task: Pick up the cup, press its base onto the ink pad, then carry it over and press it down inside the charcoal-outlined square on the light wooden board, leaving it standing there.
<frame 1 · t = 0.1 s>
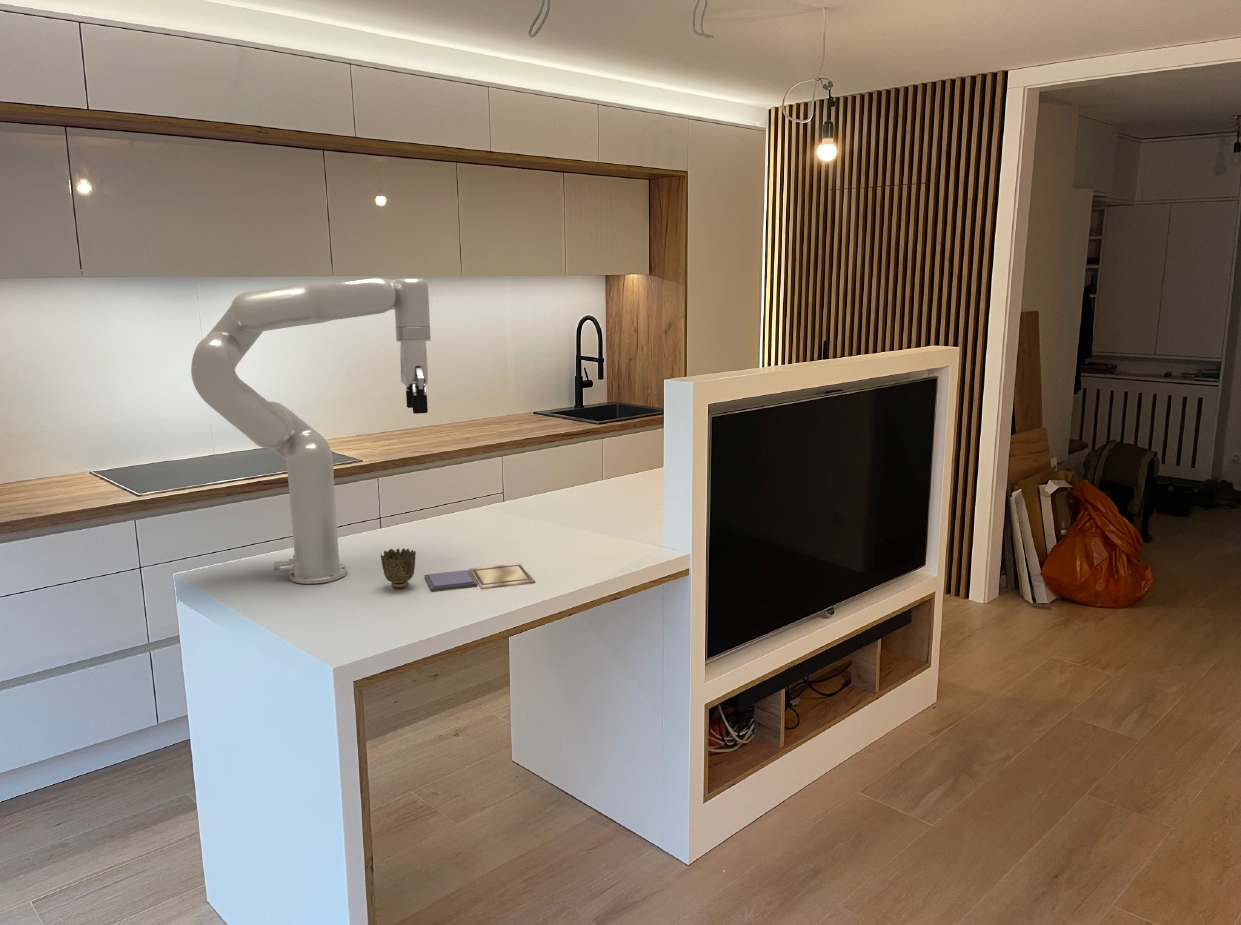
hand: (417, 410, 212), 37 cm above the table, tool pointing down, fingers open, 9 cm apart
cup: (400, 588, 203), on the table
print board: (501, 576, 210), on the table
ink pad: (450, 582, 206), on the table
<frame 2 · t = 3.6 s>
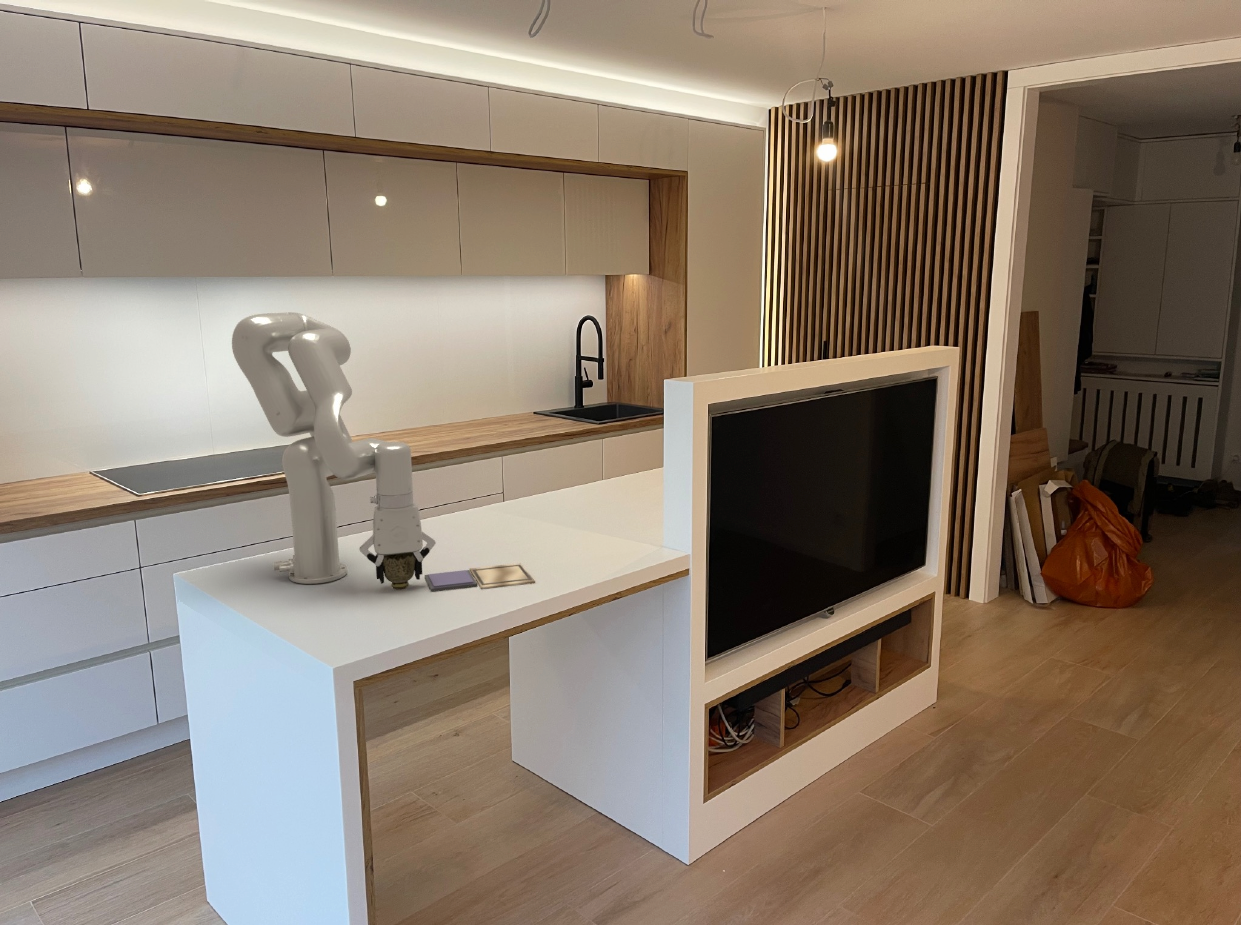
hand: (399, 579, 202), 2 cm above the table, tool pointing down, fingers closed on cup, 7 cm apart
cup: (400, 588, 203), on the table, touching gripper
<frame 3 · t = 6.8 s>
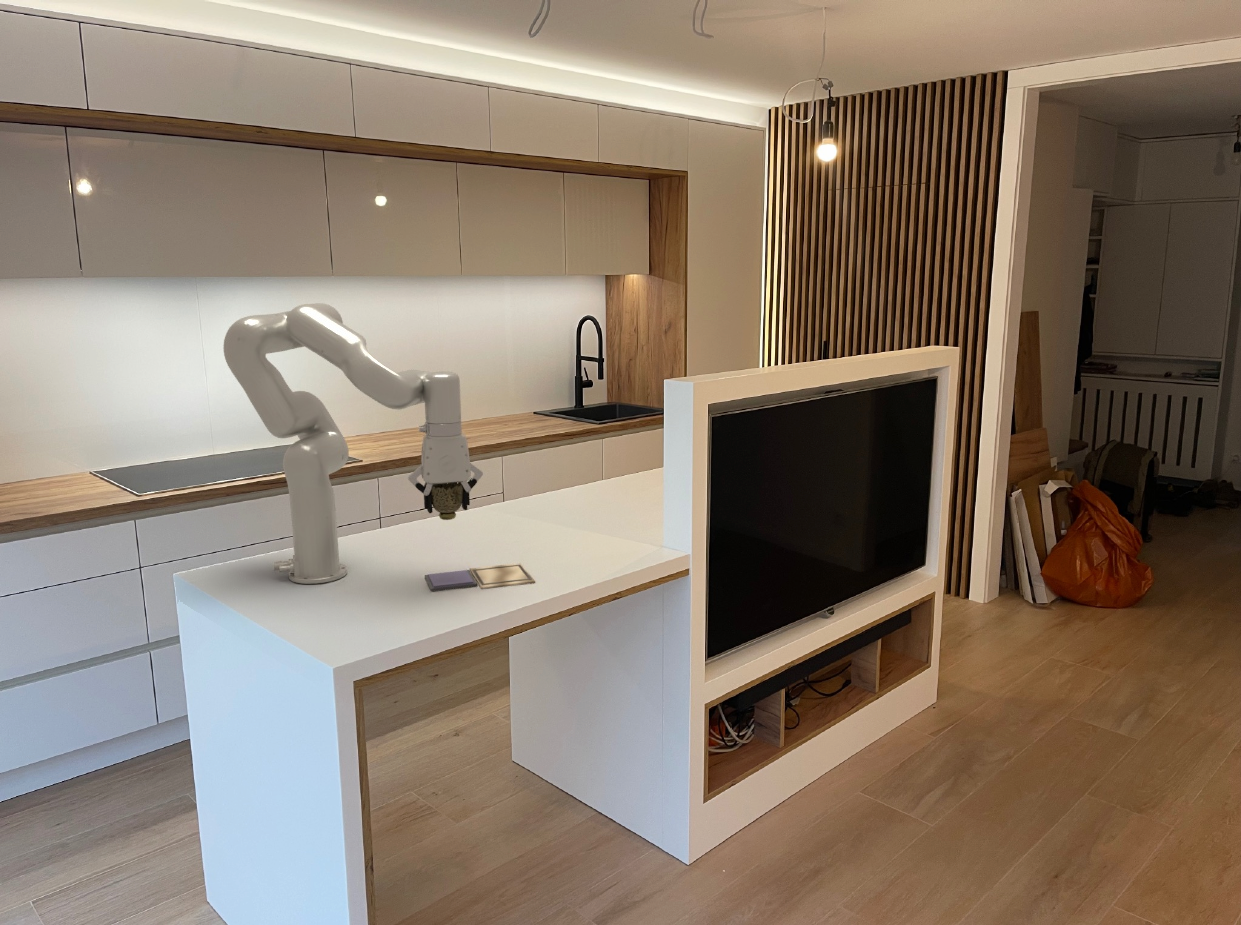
hand: (447, 509, 203), 17 cm above the table, tool pointing down, fingers closed on cup, 7 cm apart
cup: (447, 519, 203), point 14 cm above the table, touching gripper
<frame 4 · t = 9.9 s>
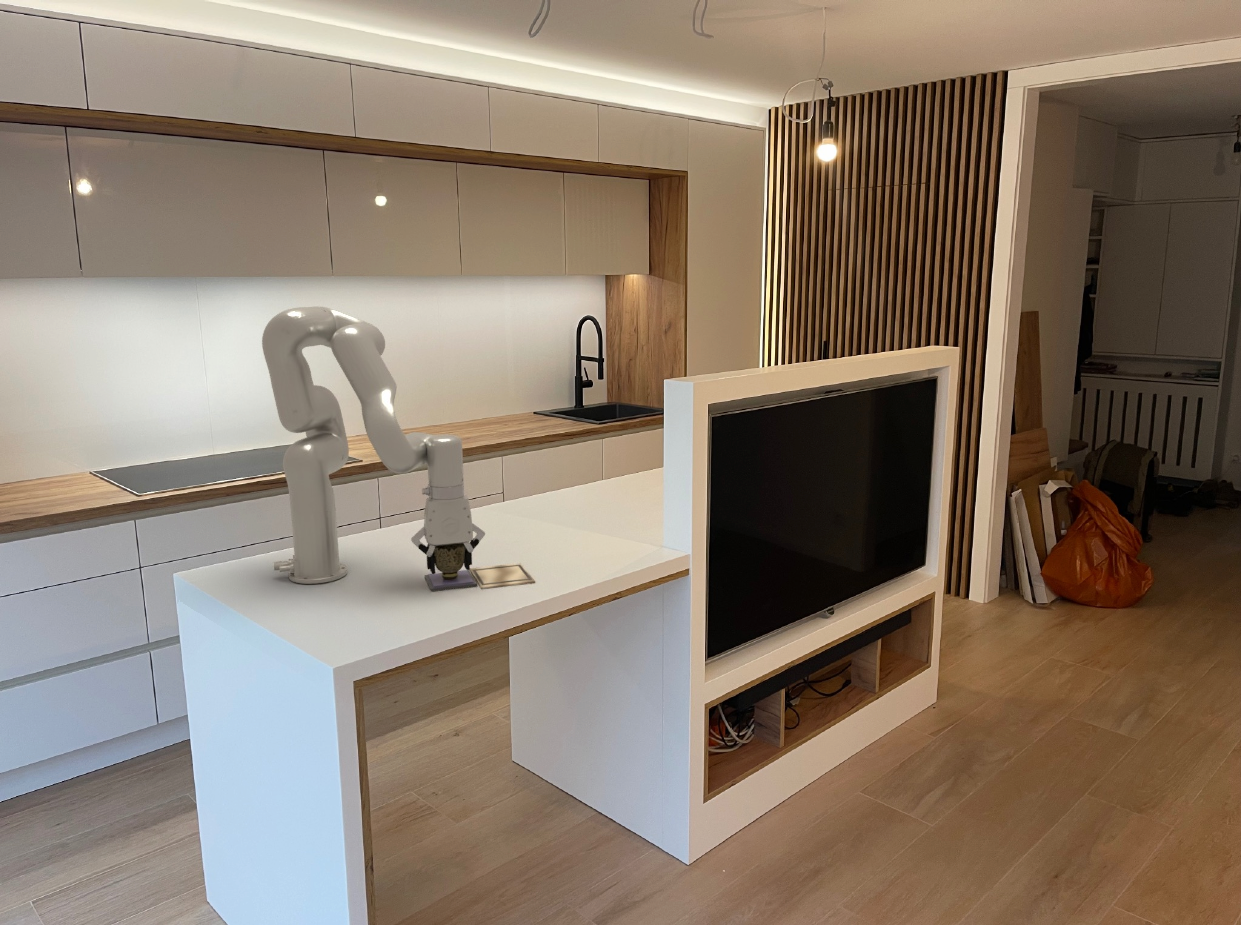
hand: (449, 569, 206), 3 cm above the table, tool pointing down, fingers closed on cup, 7 cm apart
cup: (450, 578, 206), point 1 cm above the table, touching gripper, ink pad
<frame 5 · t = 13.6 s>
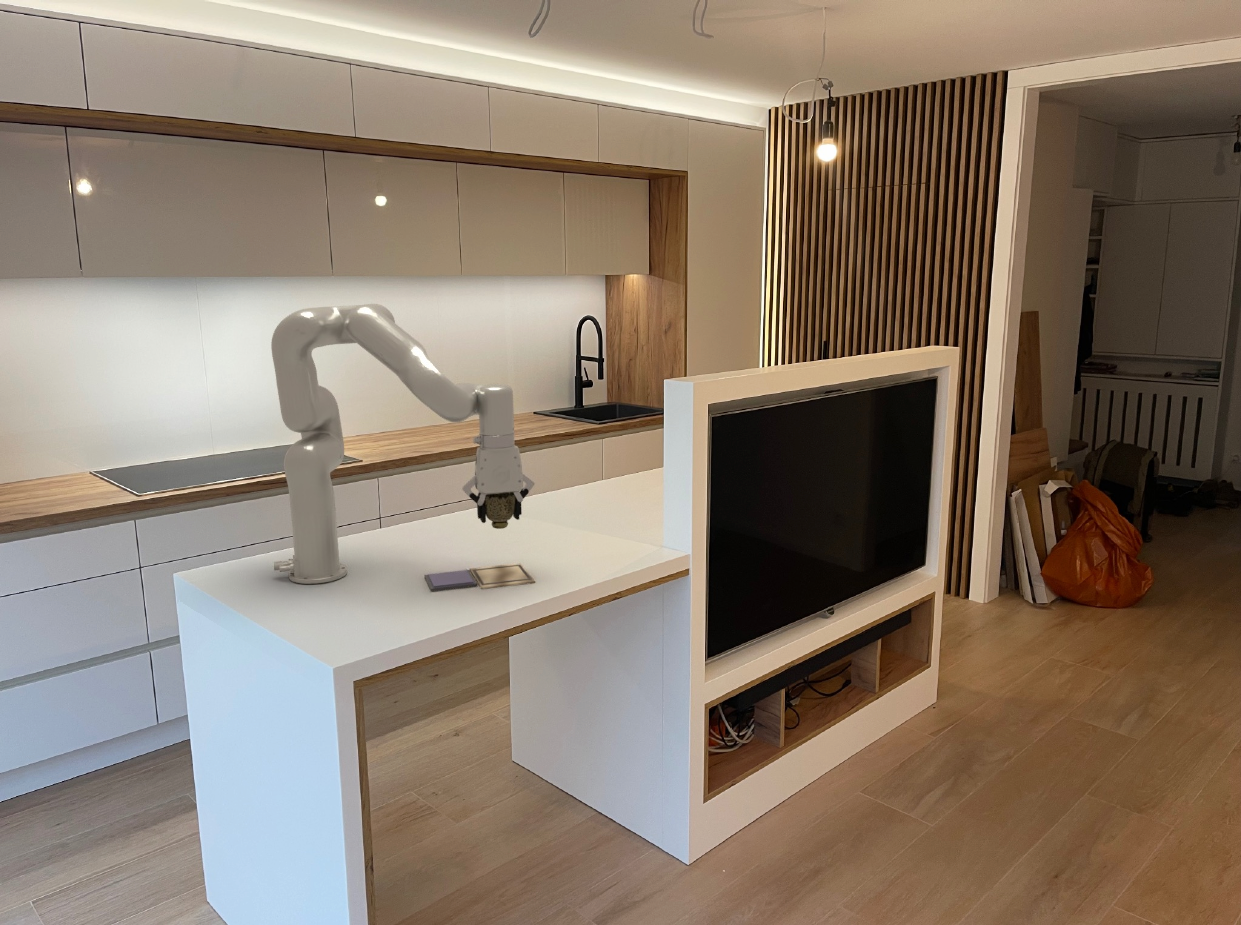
hand: (499, 519, 207), 13 cm above the table, tool pointing down, fingers closed on cup, 7 cm apart
cup: (499, 528, 208), point 11 cm above the table, touching gripper
when the fingers open (2 cm above the table, at t = 16.5 s): cup stays where it is, resting on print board.
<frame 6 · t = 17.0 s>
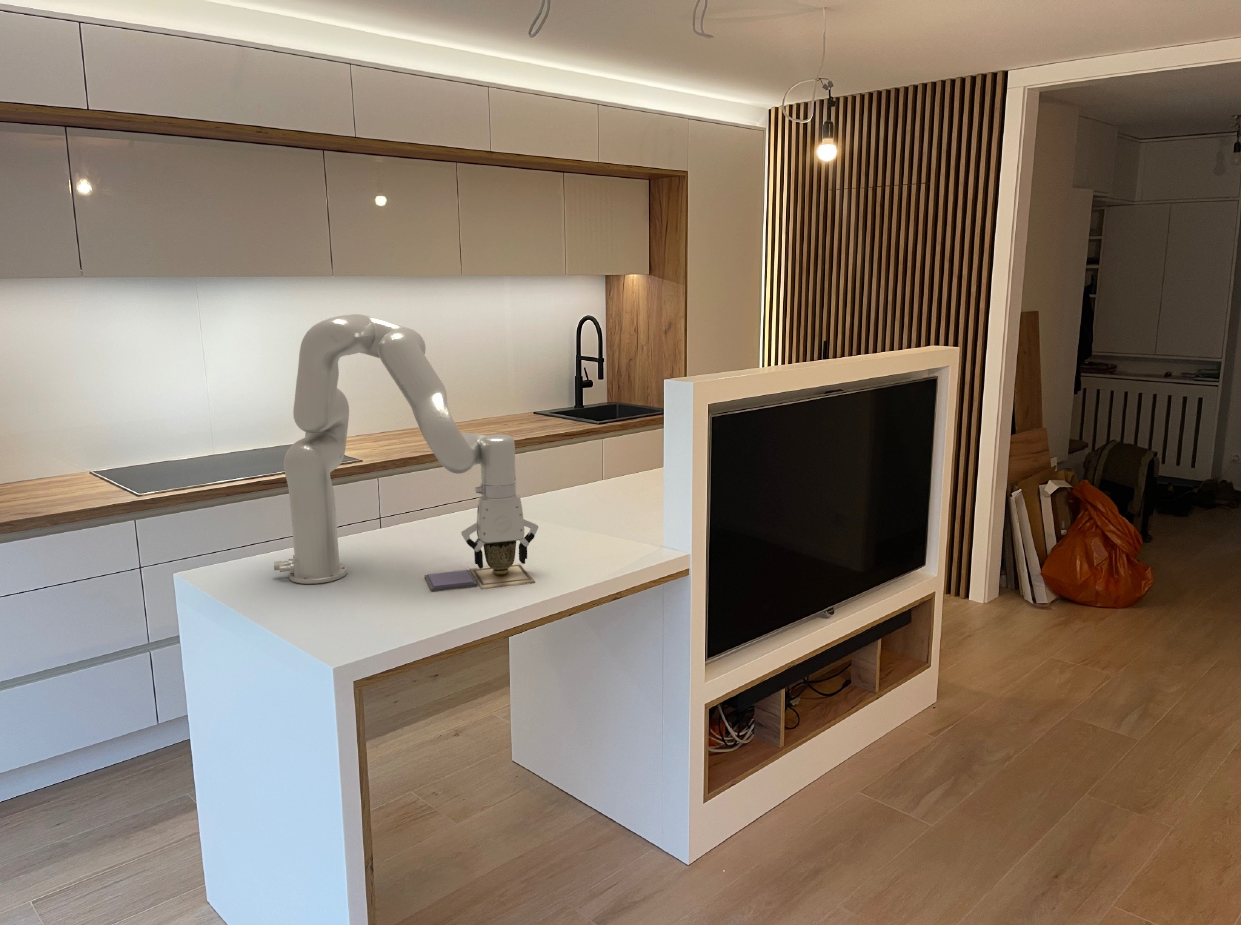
hand: (501, 564, 209), 3 cm above the table, tool pointing down, fingers open, 9 cm apart
cup: (500, 575, 210), resting on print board
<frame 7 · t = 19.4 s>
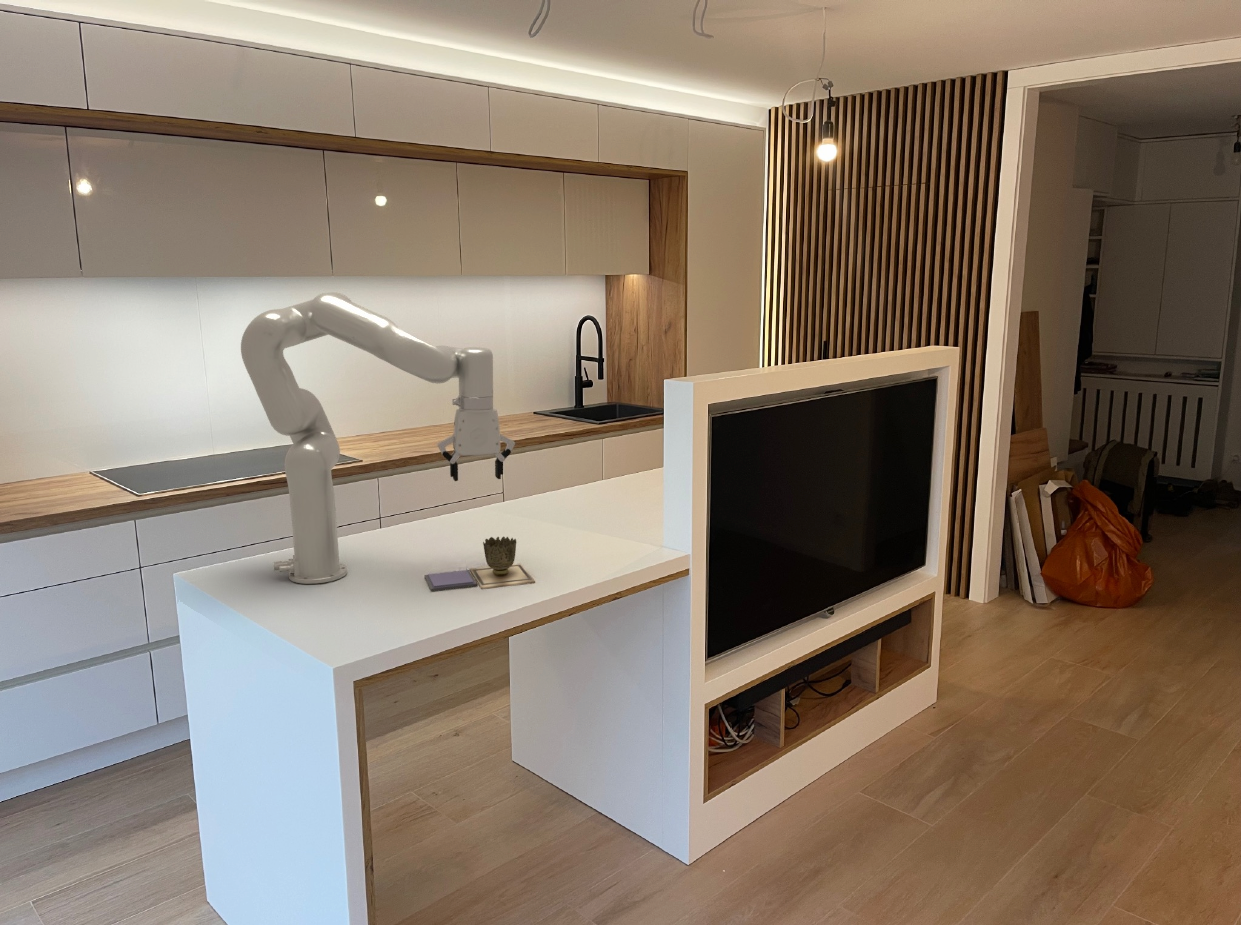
hand: (476, 478, 210), 22 cm above the table, tool pointing down, fingers open, 9 cm apart
nothing on the table moved.
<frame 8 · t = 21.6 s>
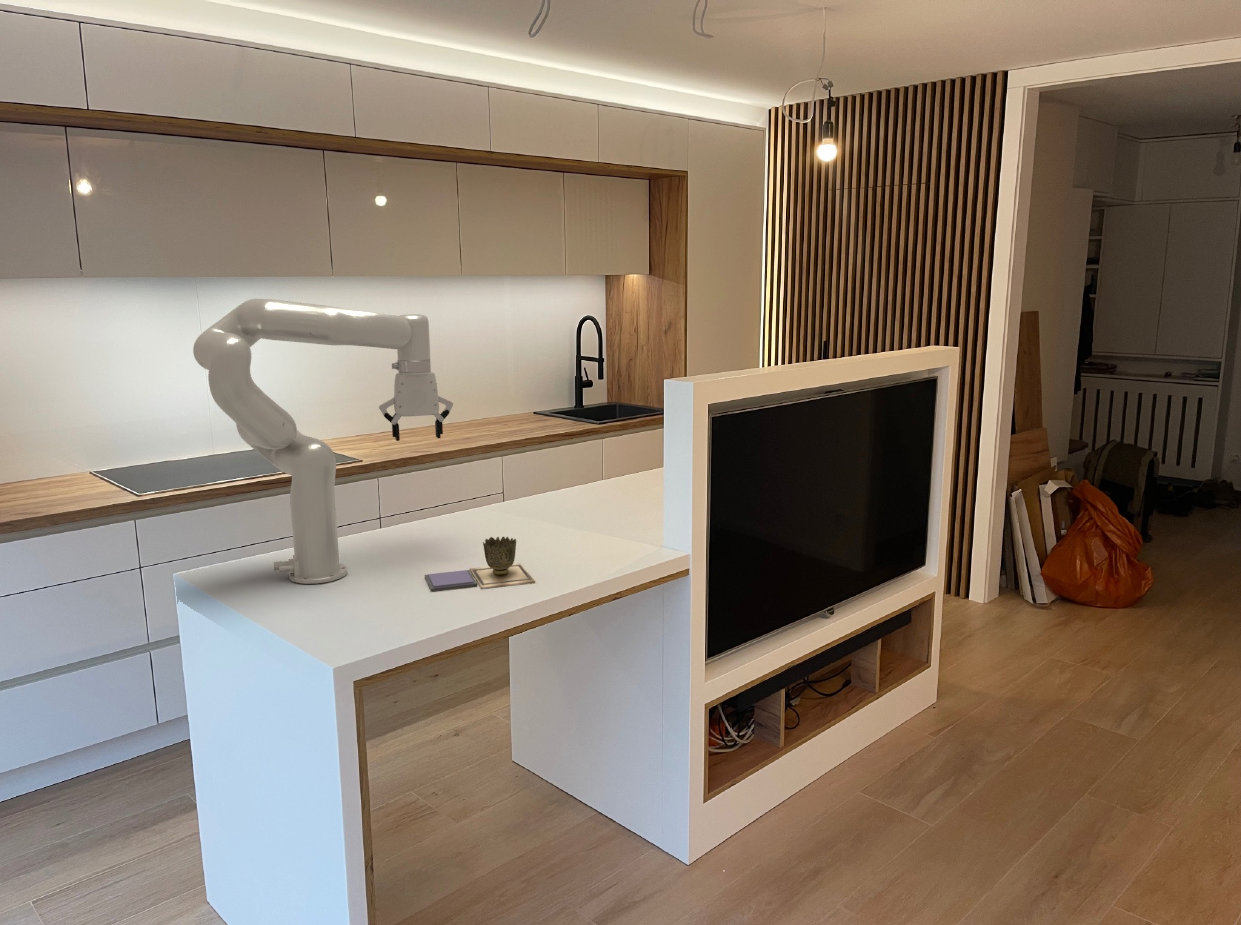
hand: (418, 438, 223), 28 cm above the table, tool pointing down, fingers open, 9 cm apart
nothing on the table moved.
at the end: cup 0.2 cm off-centre on the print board, point 0.2 cm above the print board's base; cup tilted 0°; the gripper is holding nothing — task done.
